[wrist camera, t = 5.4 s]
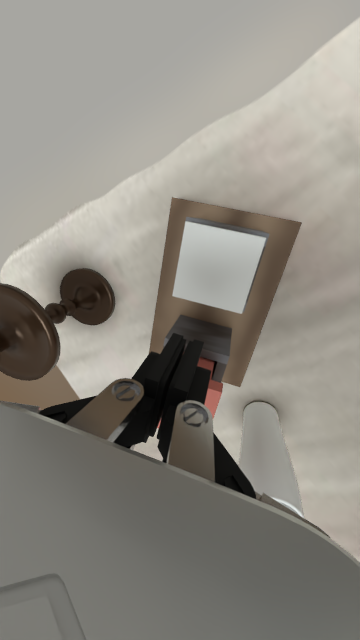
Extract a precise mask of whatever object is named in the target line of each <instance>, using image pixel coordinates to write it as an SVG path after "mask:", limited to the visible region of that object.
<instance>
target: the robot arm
mask: <svg viewBox="0 0 360 640" xmlns="http://www.w3.org/2000/svg"><path fill="white" fill-rule="evenodd" d="M185 344H186V339H183V335H179V334H176V333H173V334H172V336H171V337H170V339H169V341H168V342H167V344H166V345H165V347H164V349H163V350H162V352H161V353H160V354H159V353H156V352H153V351H151V352H150V353H149V355H148V356H147V358H146V359H145V360H144V362H143V363H142V365H141V366H140V368H139V369H138V370H137V372H136V373H135V375H134V376H133V377H132V379H128V378H123V379H118V380H115V381H114V382H112V383H111V384H110V385H109V386H108V387H106V388H105V389H104V390H103V391H102V392H101V393H100V394H99V395H97V396H94V397H89V398H85V399H81V400H76V401H73V402H68V403H64V404H59V405H55V406H51V407H48V408H46V409H44V410H40V407H39V406H31V405H25V404H18V403H12V402H5V401H0V640H360V562H359V561H358V560H357V559H356V558H355V557H353V556H352V555H351V554H350V553H348V552H347V551H346V550H345V549H343V548H342V547H341V546H340V545H338V544H337V543H336V542H335V541H333V540H332V539H331V538H330V537H329V536H328V535H327V534H326V533H325V532H324V531H322V530H321V529H320V528H319V527H317V526H315V525H314V524H312V523H311V522H309V521H307V520H306V519H304V518H303V517H301V516H300V515H298V514H296V513H295V512H293V511H292V510H290V509H288V508H287V507H285V506H284V505H282V504H280V503H279V502H277V501H276V500H274V499H273V498H271V497H269V496H268V495H266V494H265V493H262V495H260V494H258V493H257V492H255V491H254V488H253V486H252V485H251V483H250V481H249V480H248V479H247V477H246V476H245V474H244V473H243V472H242V470H241V469H240V468H239V466H238V465H237V464H236V462H235V461H234V460H233V458H232V457H231V456H230V454H229V453H228V452H227V450H226V449H225V447H224V446H223V445H222V443H221V442H220V441H219V439H218V438H217V437H216V435H215V434H214V433H213V418H212V414H211V412H210V410H209V409H208V408H207V407H206V406H205V400H206V395H207V390H208V386H209V381H210V376H211V370H209V369H205V368H202V367H199V366H197V365H198V362H199V358H200V355H201V351H202V348H203V345H204V342H202V341H199V340H196V339H194V341H189V343H188V345H187V347H186V349H185V352H184V348H185ZM183 352H184V354H183ZM160 420H161V422H160ZM159 422H160V426H159V430H158V434H157V439H159V443H158V449H159V451H160V453H161V455H162V457H163V460H162V462H161V461H159V460H156V459H154V458H151V457H149V456H146V455H144V454H141V453H138V452H136V451H133V449H134V446H135V444H138V443H141V442H144V443H146V442H147V439H148V437H149V436H152V437H153V436H154V434H155V432H156V429H157V427H158V425H159Z"/></svg>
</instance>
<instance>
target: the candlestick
mask: <svg viewBox="0 0 360 640" xmlns="http://www.w3.org/2000/svg"><path fill="white" fill-rule="evenodd" d="M60 294H61V299H62V300H61V301H60V304H57V303H51V304H48V305H47V306H46V308H45V309H44V308H43V307H42V306H41V305H40V304H39V303H38V302H37V301H36V300H35V299H34V298H33V297H31V296H30V295H29V294H28V293H26V292H24V291H22V290H21V289H19V288H17V287H14V286H11V285H8V284H2V283H0V371H1V372H3V373H4V374H6V375H8V376H11V377H13V378H16V379H20V380H29V381H30V380H36V379H39V378H41V377H43V376H44V375H45V374H47V373H48V372H49V371H50V370H52V369H53V368H54V367H55V365H56V364H57V362H58V360H59V356H60V341H59V336H58V333H57V330H56V327H55V325H54V323H56V324H59V323H62V322H63V321H64V320H65V318H66V316H72V317H74V318H75V319H76V320H78V321H79V322H81V323H84V324H87V325H98V324H101V323H103V322H104V321H106V320H107V319H108V318H109V317H110V316H111V315H112V313H113V311H114V307H115V297H114V293H113V290H112V288H111V286H110V284H109V283H108V281H107V280H106V279H105V278H104V277H103V276H102V275H100V274H99V273H97V272H96V271H94V270H91V269H86V268H81V269H76V270H73V271H71V272H69V273H68V274H66V276H65V277H64V278H63V280H62V282H61V286H60Z"/></svg>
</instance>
